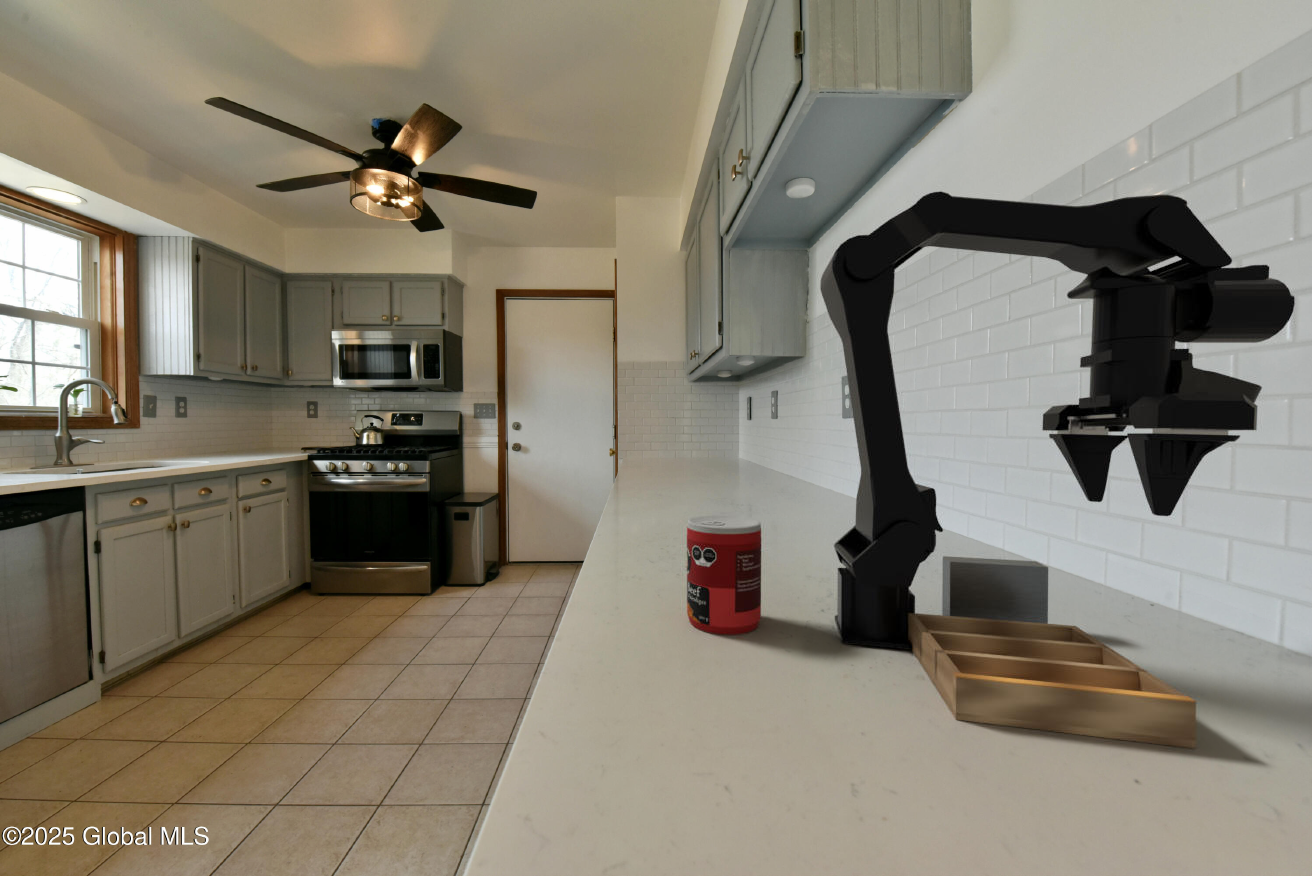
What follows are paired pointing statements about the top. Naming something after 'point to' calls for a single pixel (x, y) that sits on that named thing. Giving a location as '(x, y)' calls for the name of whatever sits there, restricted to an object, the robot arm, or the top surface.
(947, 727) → the top surface
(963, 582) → the panel
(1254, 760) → the top surface
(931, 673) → the tray
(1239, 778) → the top surface
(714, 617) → the canned food
